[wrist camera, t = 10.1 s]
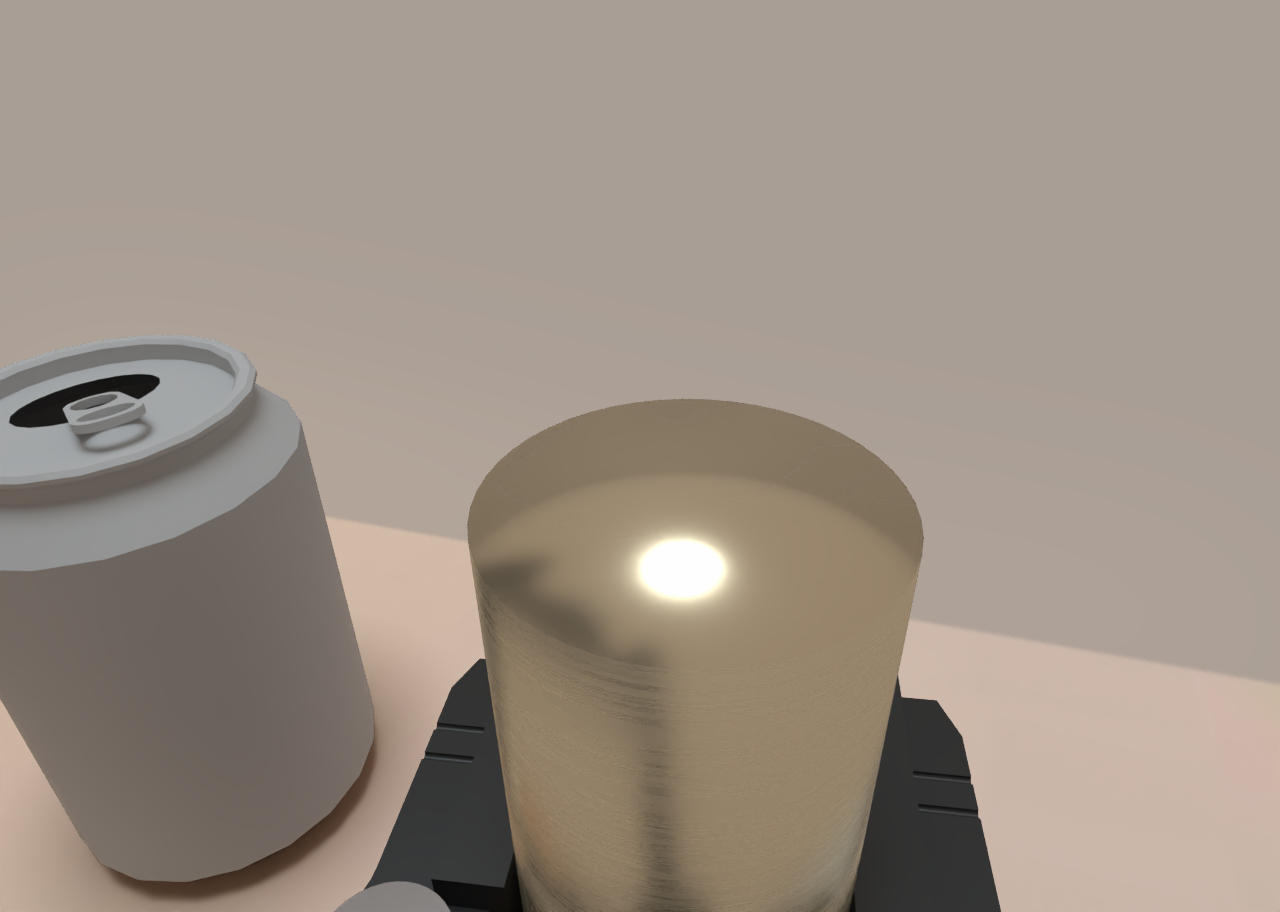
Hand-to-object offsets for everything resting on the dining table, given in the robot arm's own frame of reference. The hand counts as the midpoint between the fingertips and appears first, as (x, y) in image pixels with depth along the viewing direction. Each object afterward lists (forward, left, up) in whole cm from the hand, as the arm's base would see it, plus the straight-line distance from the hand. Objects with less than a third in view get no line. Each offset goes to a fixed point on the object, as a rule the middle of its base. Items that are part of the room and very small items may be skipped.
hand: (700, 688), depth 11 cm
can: (-13, +6, -12) cm, 18 cm away
